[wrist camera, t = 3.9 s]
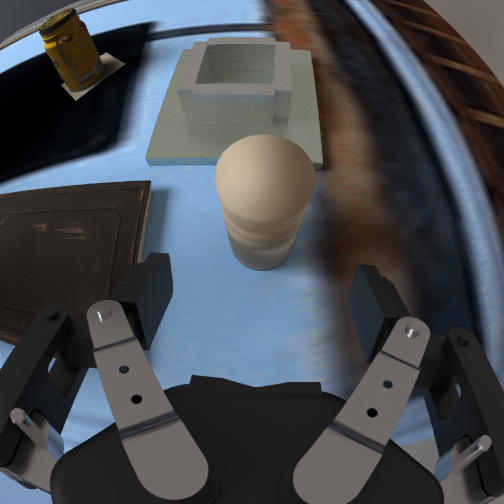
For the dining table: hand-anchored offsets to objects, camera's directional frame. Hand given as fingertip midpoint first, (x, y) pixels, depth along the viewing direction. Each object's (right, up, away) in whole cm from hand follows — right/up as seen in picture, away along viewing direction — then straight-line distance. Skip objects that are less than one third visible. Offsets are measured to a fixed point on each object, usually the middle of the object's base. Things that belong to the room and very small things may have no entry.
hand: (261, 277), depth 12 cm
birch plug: (0, +2, +11) cm, 12 cm away
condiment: (-23, +26, +19) cm, 40 cm away
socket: (-2, +18, +16) cm, 24 cm away
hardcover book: (-21, -1, +12) cm, 24 cm away
